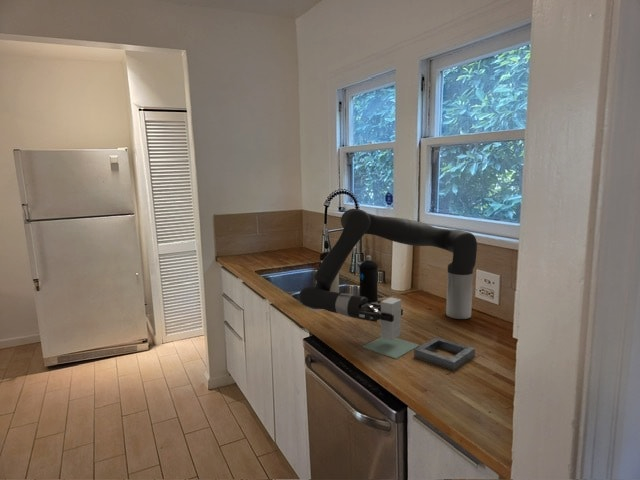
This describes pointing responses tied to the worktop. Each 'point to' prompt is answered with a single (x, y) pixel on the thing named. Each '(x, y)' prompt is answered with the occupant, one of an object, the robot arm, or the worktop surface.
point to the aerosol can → (368, 280)
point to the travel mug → (335, 284)
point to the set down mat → (391, 347)
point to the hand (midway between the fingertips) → (397, 315)
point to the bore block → (452, 363)
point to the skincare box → (394, 328)
